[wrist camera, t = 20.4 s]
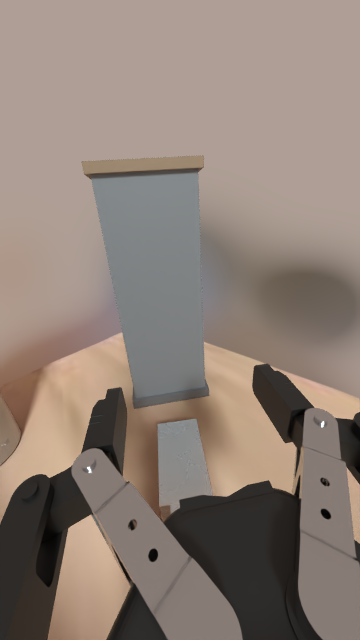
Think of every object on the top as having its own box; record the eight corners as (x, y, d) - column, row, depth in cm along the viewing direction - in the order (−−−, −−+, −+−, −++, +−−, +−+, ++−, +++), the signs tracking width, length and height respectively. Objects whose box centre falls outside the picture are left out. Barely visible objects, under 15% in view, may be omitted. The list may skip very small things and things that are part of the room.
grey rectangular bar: (160, 440, 30) (157, 424, 28) (197, 434, 30) (196, 418, 29) (169, 745, 12) (164, 739, 11) (256, 724, 13) (260, 715, 12)
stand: (136, 358, 47) (103, 182, 34) (191, 350, 49) (181, 178, 35) (134, 408, 35) (81, 161, 21) (209, 395, 36) (203, 155, 23)
